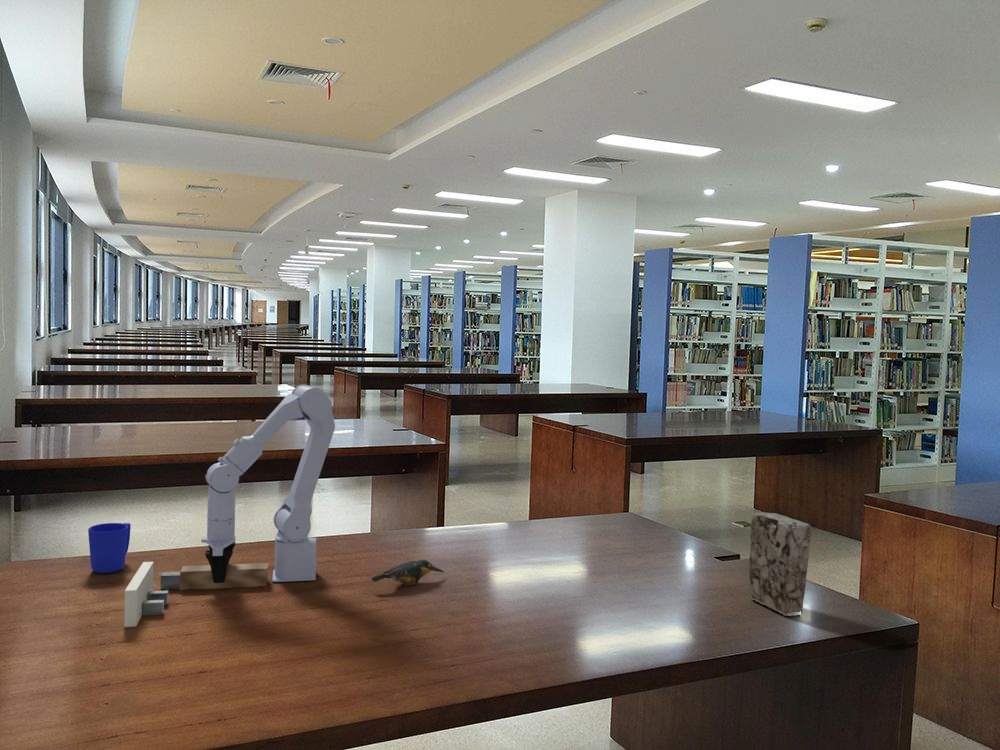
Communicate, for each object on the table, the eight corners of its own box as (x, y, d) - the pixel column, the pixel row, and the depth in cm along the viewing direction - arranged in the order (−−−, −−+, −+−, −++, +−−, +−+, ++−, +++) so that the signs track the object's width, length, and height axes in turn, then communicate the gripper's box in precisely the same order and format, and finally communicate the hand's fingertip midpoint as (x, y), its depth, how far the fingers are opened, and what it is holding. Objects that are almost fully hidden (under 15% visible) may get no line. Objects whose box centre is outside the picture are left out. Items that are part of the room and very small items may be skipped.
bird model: (377, 596, 169) (378, 573, 169) (365, 589, 173) (366, 567, 172) (449, 579, 182) (450, 558, 182) (437, 574, 186) (437, 553, 185)
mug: (144, 561, 187) (144, 520, 186) (114, 577, 175) (114, 533, 174) (111, 559, 188) (112, 517, 187) (79, 574, 176) (80, 530, 175)
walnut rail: (267, 580, 176) (268, 563, 176) (267, 586, 173) (267, 568, 172) (163, 584, 171) (163, 566, 171) (159, 590, 167) (160, 572, 167)
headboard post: (172, 593, 166) (172, 561, 165) (157, 625, 148) (158, 589, 148) (142, 594, 164) (143, 562, 164) (124, 627, 147) (124, 590, 147)
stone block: (809, 615, 167) (815, 523, 166) (785, 619, 164) (791, 526, 163) (763, 595, 179) (769, 509, 178) (740, 599, 176) (745, 511, 175)
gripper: (205, 510, 177) (204, 569, 178) (197, 527, 163) (196, 590, 164) (238, 510, 179) (237, 568, 180) (233, 526, 165) (232, 589, 166)
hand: (220, 579), depth 172 cm, fingers closed on walnut rail, 4 cm apart
